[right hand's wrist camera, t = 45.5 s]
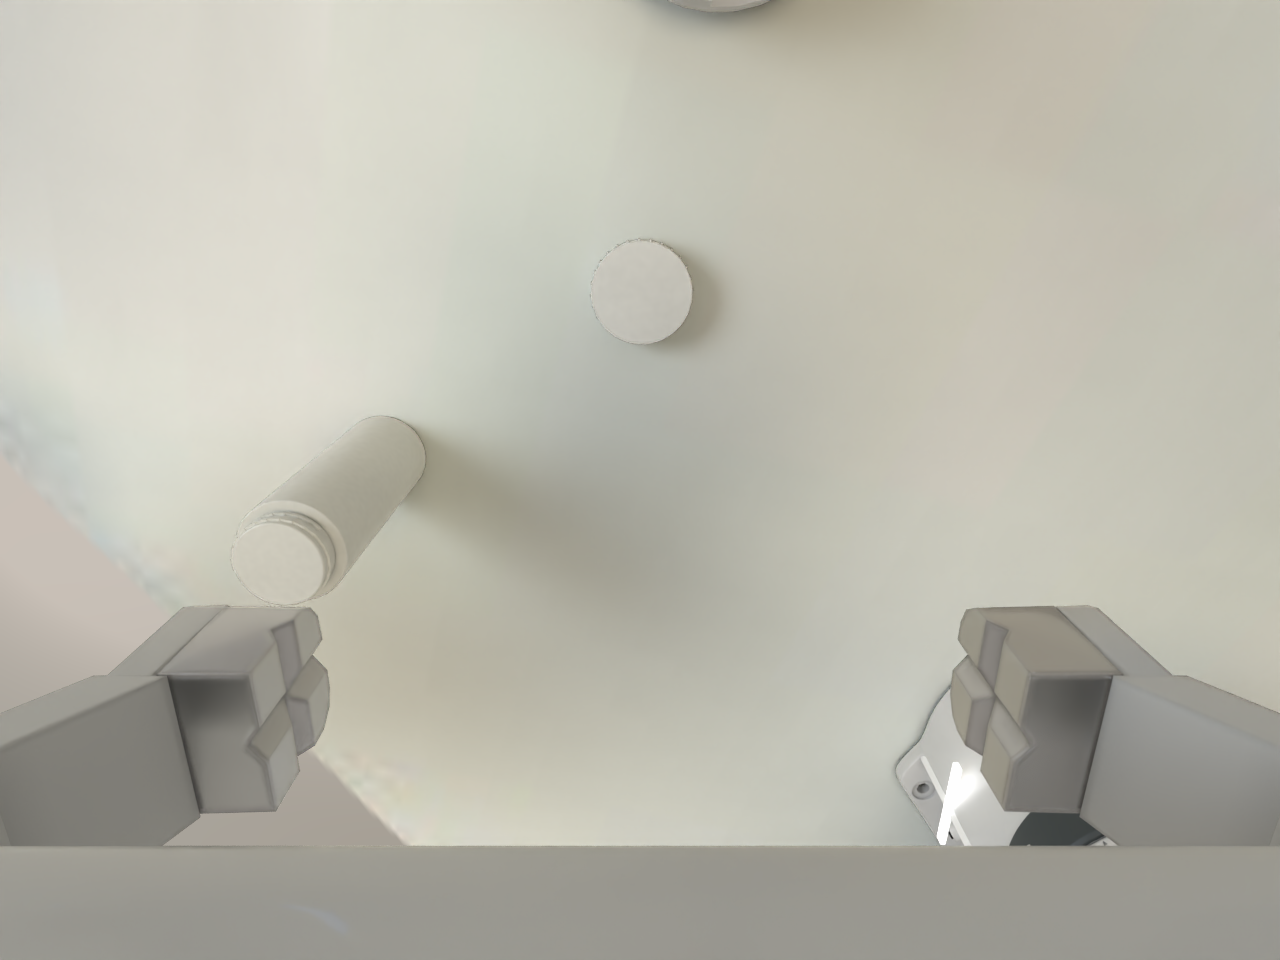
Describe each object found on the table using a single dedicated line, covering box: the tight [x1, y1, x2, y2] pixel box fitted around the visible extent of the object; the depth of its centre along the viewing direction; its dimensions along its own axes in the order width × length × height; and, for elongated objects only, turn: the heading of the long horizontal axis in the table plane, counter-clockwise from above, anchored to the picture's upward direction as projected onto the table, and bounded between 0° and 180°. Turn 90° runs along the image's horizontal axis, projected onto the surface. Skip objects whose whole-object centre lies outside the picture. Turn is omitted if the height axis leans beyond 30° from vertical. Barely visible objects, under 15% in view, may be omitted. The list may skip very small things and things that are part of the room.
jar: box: [230, 416, 426, 605], centre depth 42 cm, size 5×5×16 cm
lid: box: [590, 238, 693, 344], centre depth 45 cm, size 6×6×2 cm
